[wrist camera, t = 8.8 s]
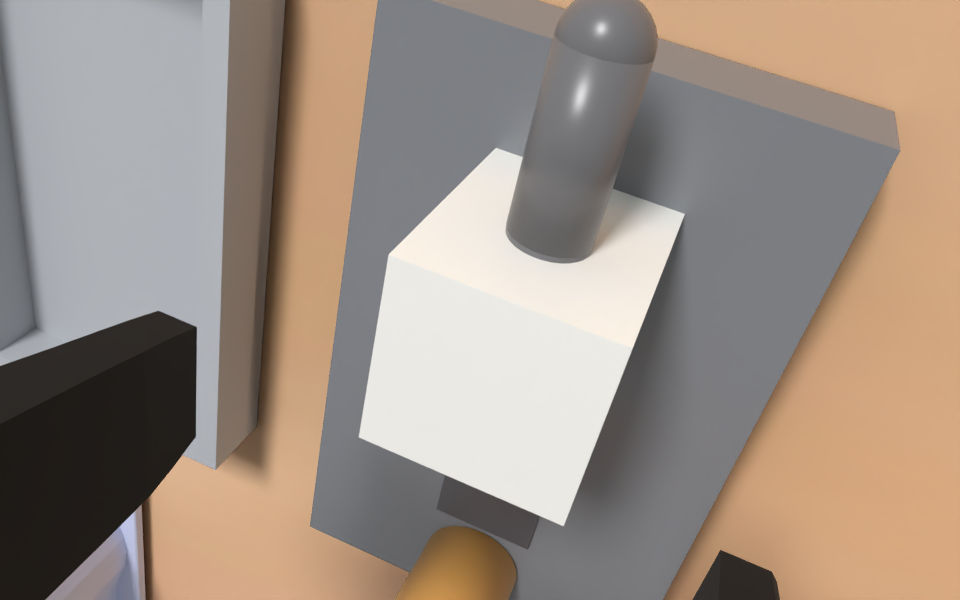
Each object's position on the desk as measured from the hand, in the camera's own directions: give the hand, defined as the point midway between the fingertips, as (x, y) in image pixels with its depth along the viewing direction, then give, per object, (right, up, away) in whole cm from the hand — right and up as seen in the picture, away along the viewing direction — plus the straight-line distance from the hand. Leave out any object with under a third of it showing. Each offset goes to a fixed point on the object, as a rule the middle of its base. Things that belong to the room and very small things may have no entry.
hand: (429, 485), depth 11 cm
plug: (+3, +5, +5) cm, 8 cm away
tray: (-8, +6, +11) cm, 15 cm away
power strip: (+2, +2, +9) cm, 9 cm away
